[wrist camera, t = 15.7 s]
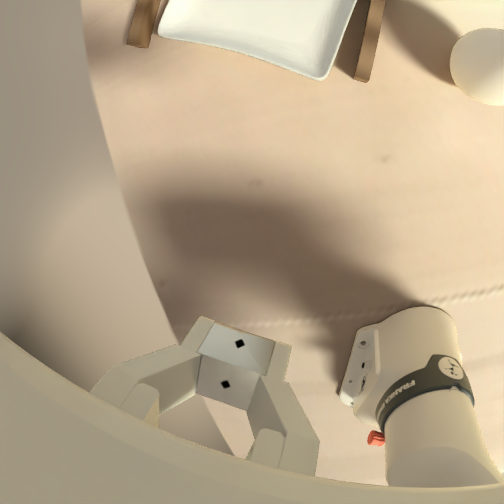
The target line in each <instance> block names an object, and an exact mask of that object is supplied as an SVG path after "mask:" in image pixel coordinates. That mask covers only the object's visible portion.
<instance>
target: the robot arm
mask: <svg viewBox="0 0 504 504" xmlns="http://www.w3.org/2000/svg"><path fill="white" fill-rule="evenodd" d="M362 341H365V342H364V343H362ZM291 348H292V347H291V345H289V344H286V343H282V342H279V341H276V342H275V341H274V340H271V339H267V338H264V337H261V336H258V335H254V334H251V333H248V332H245V331H242V330H240V329H237V328H234V327H231V326H228V325H226V324H223V323H220V322H218V321H214V320H211V319H209V318H206V317H203V316H200V317H199V318H198V319H197V321H196V322H195V324H194V325H193V327H192V328H191V330H190V331H189V333H188V334H187V335H186V337H185V338H184V340H183V341H182V343H181V344H180V346H178V345H172V346H169V347H167V348H164V349H161V350H158V351H155V352H152V353H150V354H147V355H144V356H141V357H138V358H135V359H132V360H129V361H126V362H123V363H120V364H117V365H114V366H111V367H110V368H109V370H108V371H107V372H106V373H105V374H104V376H103V377H102V378H101V379H100V380H99V381H98V383H97V384H96V385H95V386H94V388H93V389H92V390H91V391H90V392H87V391H85V390H84V389H82V388H80V387H78V386H77V385H75V384H73V383H72V382H70V381H69V380H67V379H65V378H64V377H62V376H61V375H59V374H58V373H56V372H54V371H53V370H51V369H50V368H48V367H47V366H46V365H44V364H42V363H41V362H40V361H38V360H37V359H35V358H34V357H32V356H31V355H30V354H28V353H27V352H26V351H24V350H23V349H22V348H20V347H19V346H17V345H16V344H15V343H13V342H12V341H11V340H10V339H8V338H7V337H6V336H5V335H3V334H2V333H1V332H0V504H504V477H503V476H502V475H501V473H500V472H499V470H498V469H497V467H496V466H495V464H494V462H493V461H492V459H491V457H490V455H489V453H488V451H487V448H486V446H485V442H484V439H483V436H482V433H481V430H480V427H479V424H478V421H477V417H476V414H475V411H474V397H473V393H472V390H471V386H470V383H469V380H468V378H467V376H466V374H465V372H464V370H463V365H462V353H461V350H460V348H459V346H458V339H457V329H456V326H455V323H454V321H453V320H452V318H451V317H450V316H449V315H448V314H446V313H445V312H443V311H441V310H439V309H436V308H432V307H414V308H409V309H405V310H403V311H400V312H398V313H396V314H394V315H392V316H390V317H389V318H387V319H385V320H384V321H382V322H380V323H378V324H373V325H369V326H365V327H362V328H360V329H359V330H358V331H357V333H356V336H355V340H354V344H353V348H352V351H351V355H350V359H349V362H348V366H347V369H346V373H345V376H344V379H343V383H342V386H341V389H340V393H339V398H340V400H341V401H342V402H343V403H345V404H346V405H348V406H350V407H352V408H353V412H354V415H355V417H356V418H357V419H358V420H360V421H361V422H363V423H365V424H368V425H371V426H375V427H380V429H381V431H382V432H377V431H374V430H373V431H371V432H370V434H369V437H368V440H367V442H368V444H369V445H378V446H382V445H383V444H384V443H385V476H386V481H387V483H388V485H389V486H381V485H370V484H361V483H353V482H345V481H338V480H332V479H326V478H320V477H315V471H316V465H317V458H318V451H319V443H320V441H319V439H318V437H317V435H316V433H315V431H314V430H313V428H312V426H311V424H310V422H309V420H308V418H307V417H306V415H305V413H304V411H303V409H302V407H301V405H300V404H299V402H298V400H297V398H296V396H295V394H294V392H293V390H292V388H291V387H290V385H289V383H287V382H284V379H285V375H286V371H287V366H288V362H289V357H290V353H291ZM195 393H197V394H199V395H202V396H205V397H208V398H211V399H214V400H217V401H220V402H223V403H226V404H228V405H231V406H234V407H237V408H239V409H242V410H245V411H247V416H248V419H249V422H250V426H251V429H252V432H253V435H254V439H255V441H254V443H253V445H252V447H251V449H250V451H249V453H248V455H247V457H246V459H241V458H238V457H235V456H231V455H228V454H225V453H222V452H219V451H216V450H213V449H211V448H208V447H205V446H202V445H199V444H197V443H194V442H192V441H189V440H186V439H184V438H181V437H179V436H176V435H174V434H171V433H169V432H167V431H164V430H162V429H160V428H159V415H160V414H162V413H164V412H165V411H167V410H169V409H171V408H173V407H174V406H176V405H178V404H180V403H181V402H183V401H185V400H187V399H188V398H190V397H192V396H194V395H195Z"/></svg>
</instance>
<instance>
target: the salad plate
mask: <svg viewBox="0 0 504 504" xmlns="http://www.w3.org/2000/svg"><path fill="white" fill-rule="evenodd" d="M356 2H357V0H169V2H168V4H167V6H166V8H165V10H164V13H163V15H162V17H161V20H160V23H159V26H158V35H159V36H160V37H163V38H166V39H172V40H177V41H184V42H191V43H197V44H203V45H208V46H213V47H218V48H222V49H226V50H230V51H234V52H238V53H241V54H245V55H248V56H251V57H254V58H257V59H260V60H263V61H266V62H268V63H271V64H274V65H277V66H279V67H282V68H284V69H287V70H290V71H292V72H295V73H297V74H300V75H302V76H305V77H308V78H310V79H313V80H317V81H322V80H324V79H325V78H326V77H327V76H328V74H329V72H330V70H331V67H332V65H333V62H334V60H335V57H336V55H337V52H338V49H339V46H340V44H341V41H342V38H343V35H344V33H345V30H346V27H347V25H348V22H349V20H350V17H351V14H352V12H353V9H354V7H355V4H356Z"/></svg>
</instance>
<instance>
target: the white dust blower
mask: <svg viewBox="0 0 504 504" xmlns="http://www.w3.org/2000/svg"><path fill="white" fill-rule="evenodd" d="M450 72H451V75H452V78H453V80H454V82H455V84H456V85H457V87H458V88H459V89H460V90H461V91H462V92H463V93H464V94H466V95H467V96H469V97H470V98H472V99H474V100H476V101H479V102H481V103H484V104H490V105H504V30H501V29H493V28H482V29H477V30H474V31H471V32H468V33H467V34H465V35H464V36H462V37H461V38H460V39H459V40H458V41H457V43H456V44H455V45H454V47H453V50H452V52H451V56H450Z"/></svg>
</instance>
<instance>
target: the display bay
mask: <svg viewBox="0 0 504 504" xmlns="http://www.w3.org/2000/svg"><path fill="white" fill-rule="evenodd" d="M385 2H386V0H370V5H369V10H368V15H367V20H366V24H365V29H364V34H363V39H362V43H361V48H360V52H359V57H358V61H357V66H356V70H355V74H354V79H355V80H358V81H361V82H364V83H367V82H368V81H369V79H370V75H371V70H372V66H373V62H374V57H375V52H376V48H377V43H378V38H379V33H380V28H381V23H382V18H383V13H384V7H385ZM159 4H160V0H138V2H137V5H136V9H135V12H134V16H133V20H132V24H131V28H130V32H129V36H128V40H127V45H131V46H135V47H138V48H148V47H149V42H150V38H151V34H152V30H153V26H154V22H155V18H156V15H157V11H158V7H159Z"/></svg>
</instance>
